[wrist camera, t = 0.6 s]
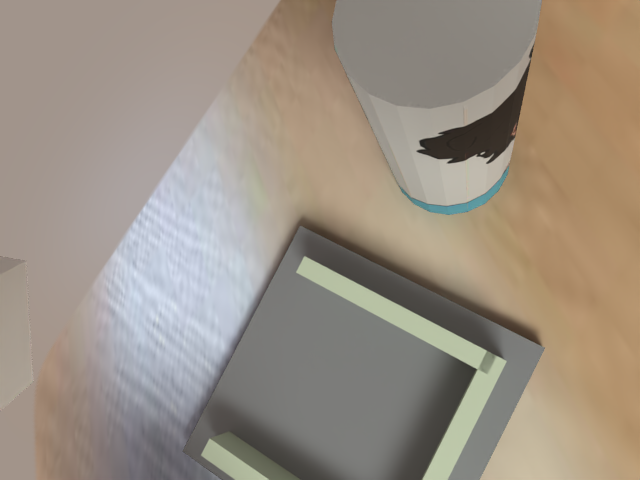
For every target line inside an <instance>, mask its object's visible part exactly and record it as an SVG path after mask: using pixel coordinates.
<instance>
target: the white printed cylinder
mask: <svg viewBox="0 0 640 480" xmlns="http://www.w3.org/2000/svg"><path fill="white" fill-rule="evenodd" d="M541 3H542V0H337V1H336V5H335V10H334V14H333V19H332V28H333V37H334V46H335V51H336V53H337V55H338V57H339V59H340V61H341V64H342V66H343V68H344V70H345V72H346V74H347V76H348V79H349V81H350V83H351V85H352V87H353V89H354V91H355V93H356V96H357V98H358V100H359V102H360V104H361V106H362V108H363V111H364V113H365V115H366V117H367V119H368V121H369V123H370V125H371V128H372V130H373V132H374V134H375V136H376V138H377V140H378V143H379V145H380V147H381V149H382V151H383V153H384V155H385V157H386V160H387V162H388V164H389V166H390V168H391V170H392V172H393V175H394V177H395V179H396V181H397V183H398V185H399V187H400V189H401V191H402V192H403V193H404V194H405V195H406V196H407V197H408V198H409V199H410V200H411V201H412V202H413V203H414V204H415V205H417V206H419V207H421V208H423V209H425V210H427V211H429V212H434V213H441V214H447V215H450V214H457V213H463V212H468V211H470V210H472V209H474V208H477V207H479V206H481V205H483V204H485V203H486V202H487V201H488V200H489V199H490V198H491V197H492V196H493V195H494V194H495V193H497V192H498V191H499V189H500V187H501V185H502V183H503V182H504V180H505V178H506V176H507V174H508V169H509V164H510V159H511V154H512V149H513V145H514V140H515V135H516V130H517V125H518V120H519V115H520V110H521V106H522V101H523V96H524V91H525V86H526V81H527V76H528V71H529V67H530V62H531V57H532V52H533V47H534V42H535V37H536V32H537V27H538V21H539V15H540V9H541Z"/></svg>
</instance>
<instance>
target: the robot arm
mask: <svg viewBox="0 0 640 480" xmlns="http://www.w3.org/2000/svg"><path fill="white" fill-rule="evenodd" d="M32 383H33V369H32V351H31V334H30V319H29V302H28V285H27V268H26V261H25V260H19V259H13V258H7V257H1V256H0V411H1V410H2V409H3V408H4V407H6V406H7V405H8V404H9V403H10V402H11V401H12V400H13V399H15V398H16V397H17V396H18V395H19V394H20V393H21V392H22V391H24V390H25V389H26V388H27V387H28V386H29V385H30V384H32Z"/></svg>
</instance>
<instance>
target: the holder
mask: <svg viewBox="0 0 640 480" xmlns="http://www.w3.org/2000/svg"><path fill="white" fill-rule="evenodd" d="M544 349H545V348H544V347H542V346H540V345H538V344H536V343H534V342H532V341H530V340H528V339H526V338H524V337H522V336H520V335H518V334H516V333H514V332H512V331H510V330H508V329H506V328H504V327H502V326H500V325H498V324H496V323H494V322H492V321H490V320H488V319H486V318H484V317H482V316H480V315H478V314H476V313H474V312H472V311H470V310H468V309H466V308H464V307H462V306H460V305H458V304H456V303H454V302H452V301H450V300H448V299H446V298H444V297H442V296H440V295H438V294H436V293H434V292H432V291H430V290H428V289H426V288H424V287H422V286H420V285H418V284H416V283H414V282H412V281H410V280H408V279H406V278H404V277H402V276H400V275H398V274H396V273H394V272H392V271H390V270H388V269H386V268H384V267H382V266H380V265H378V264H376V263H374V262H372V261H370V260H368V259H366V258H364V257H362V256H360V255H358V254H356V253H354V252H352V251H350V250H348V249H346V248H344V247H342V246H340V245H338V244H336V243H334V242H332V241H330V240H328V239H326V238H324V237H322V236H320V235H318V234H316V233H314V232H312V231H310V230H308V229H306V228H304V227H302V226H300V227H299V229H298V231H297V233H296V235H295V237H294V239H293V240H292V242H291V244H290V246H289V248H288V250H287V252H286V254H285V256H284V258H283V260H282V262H281V263H280V265H279V267H278V269H277V271H276V273H275V275H274V277H273V279H272V281H271V283H270V285H269V286H268V288H267V290H266V292H265V294H264V296H263V298H262V300H261V302H260V304H259V306H258V308H257V309H256V311H255V313H254V315H253V317H252V319H251V321H250V323H249V325H248V327H247V329H246V331H245V332H244V334H243V336H242V338H241V340H240V342H239V344H238V346H237V348H236V350H235V352H234V354H233V355H232V357H231V359H230V361H229V363H228V365H227V367H226V369H225V371H224V373H223V375H222V377H221V378H220V380H219V382H218V384H217V386H216V388H215V390H214V392H213V394H212V396H211V398H210V400H209V401H208V403H207V405H206V407H205V409H204V411H203V413H202V415H201V417H200V419H199V421H198V423H197V424H196V426H195V428H194V430H193V432H192V434H191V436H190V438H189V440H188V442H187V444H186V446H185V447H184V449H183V452H184V453H185V454H187V455H188V456H190V457H191V458H192V459H194V460H195V461H197V462H198V463H199V464H201V465H202V466H204V467H205V468H206V469H208V470H209V471H211V472H212V473H213V474H215V475H216V476H218V477H219V478H220V479H222V480H480V478H481V476H482V474H483V472H484V470H485V468H486V466H487V464H488V462H489V460H490V458H491V456H492V454H493V452H494V450H495V448H496V446H497V444H498V442H499V440H500V438H501V436H502V434H503V432H504V430H505V428H506V426H507V424H508V422H509V420H510V418H511V415H512V413H513V411H514V409H515V407H516V405H517V403H518V401H519V399H520V397H521V395H522V393H523V391H524V389H525V387H526V385H527V383H528V381H529V379H530V377H531V375H532V373H533V371H534V369H535V367H536V365H537V363H538V361H539V359H540V357H541V355H542V353H543V351H544Z"/></svg>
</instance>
